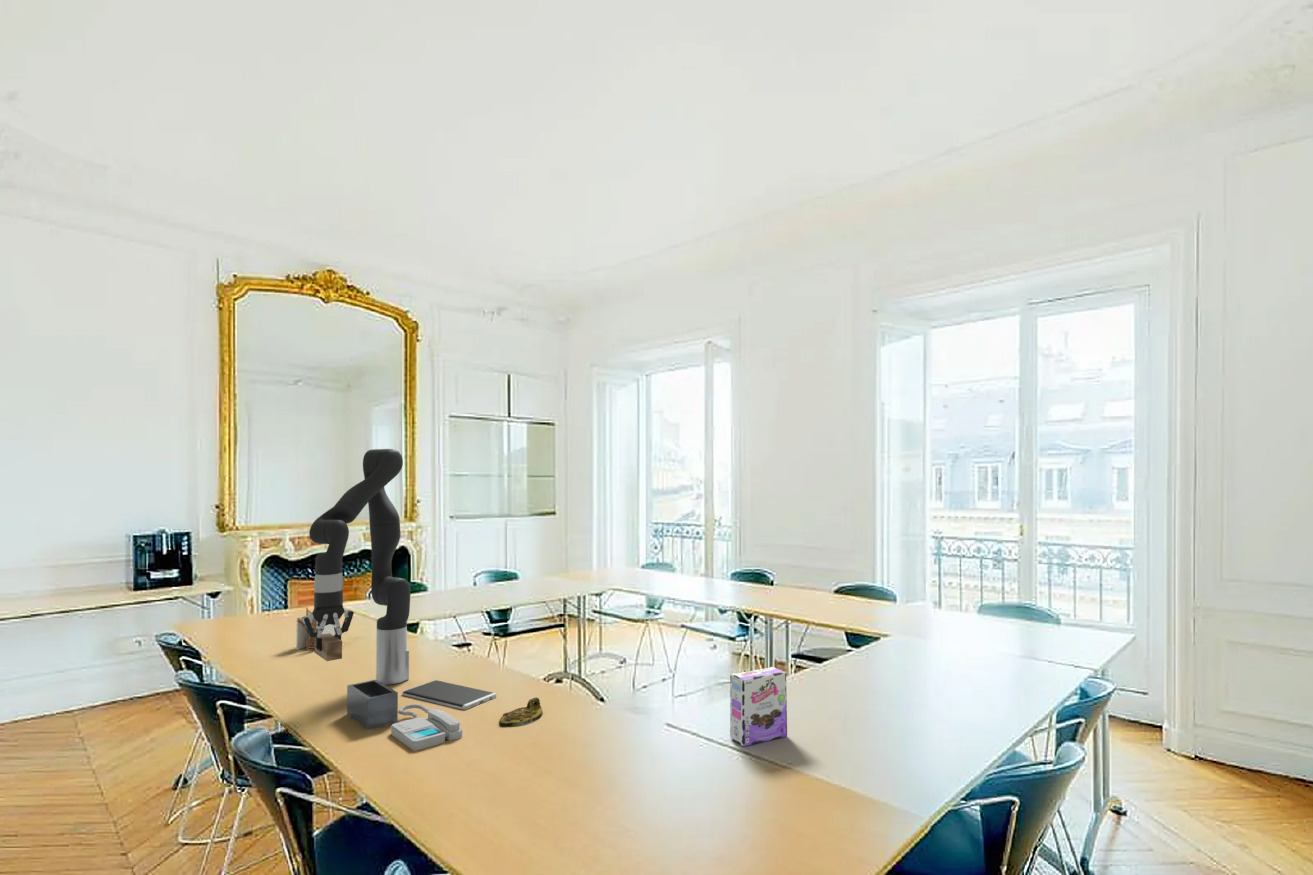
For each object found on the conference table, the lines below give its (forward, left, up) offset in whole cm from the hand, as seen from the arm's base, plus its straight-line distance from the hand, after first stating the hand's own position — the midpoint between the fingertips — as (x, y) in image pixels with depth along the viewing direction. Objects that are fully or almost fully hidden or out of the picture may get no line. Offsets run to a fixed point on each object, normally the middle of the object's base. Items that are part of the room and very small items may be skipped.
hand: (328, 649), depth 200 cm
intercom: (-13, +33, -18) cm, 39 cm away
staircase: (-19, -78, -18) cm, 82 cm away
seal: (-37, +44, -18) cm, 60 cm away
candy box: (-74, +98, -18) cm, 124 cm away
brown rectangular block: (0, 0, -2) cm, 2 cm away
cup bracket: (-7, +16, -17) cm, 24 cm away
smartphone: (-31, +13, -18) cm, 38 cm away
